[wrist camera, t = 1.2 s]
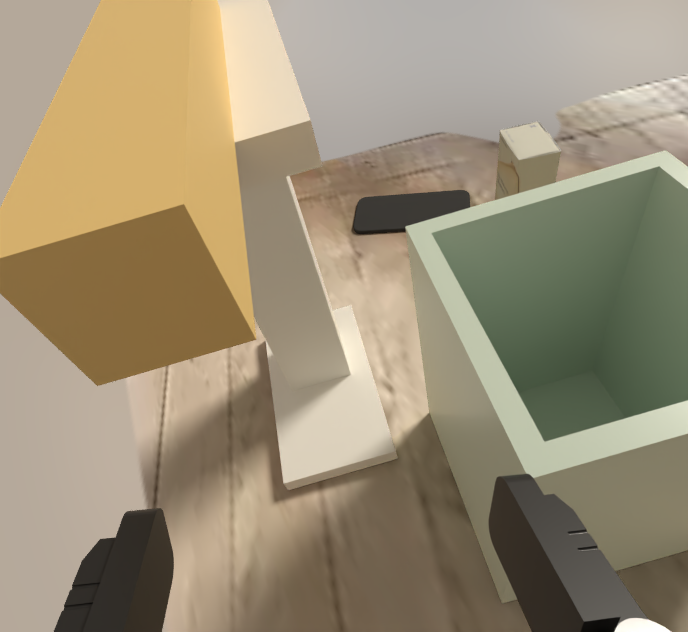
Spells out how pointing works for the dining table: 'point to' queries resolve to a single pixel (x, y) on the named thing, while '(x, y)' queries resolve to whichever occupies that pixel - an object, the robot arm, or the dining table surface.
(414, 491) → the dining table surface
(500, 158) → the skincare box
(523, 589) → the robot arm
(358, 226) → the phone
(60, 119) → the box
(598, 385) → the tote
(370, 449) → the shelf stand
